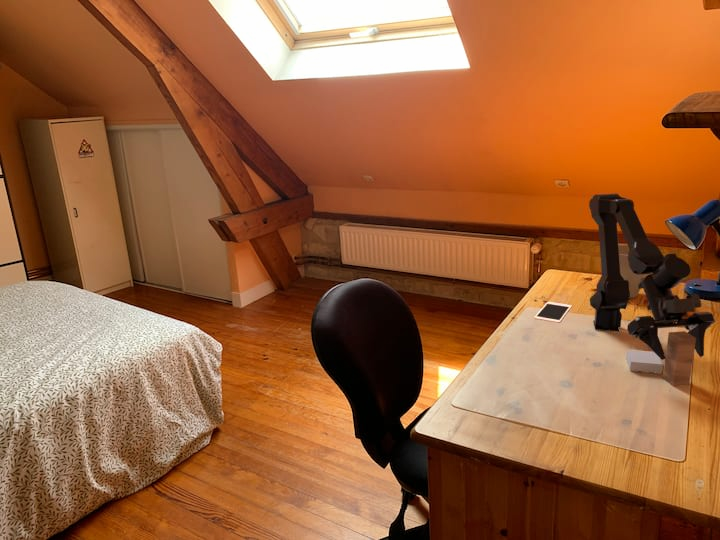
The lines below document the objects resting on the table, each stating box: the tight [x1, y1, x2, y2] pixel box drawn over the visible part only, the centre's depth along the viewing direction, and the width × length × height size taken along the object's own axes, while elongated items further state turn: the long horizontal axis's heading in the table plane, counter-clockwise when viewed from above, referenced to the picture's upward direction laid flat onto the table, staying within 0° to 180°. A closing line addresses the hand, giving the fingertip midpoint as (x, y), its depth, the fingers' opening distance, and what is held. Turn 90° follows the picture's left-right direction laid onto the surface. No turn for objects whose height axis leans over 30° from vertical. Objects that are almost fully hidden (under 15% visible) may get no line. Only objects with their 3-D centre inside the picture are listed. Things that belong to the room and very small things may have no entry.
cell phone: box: [533, 301, 573, 324], centre depth 176 cm, size 8×16×1 cm, turn 147°
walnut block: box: [662, 330, 696, 387], centre depth 130 cm, size 4×4×12 cm
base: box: [625, 349, 663, 374], centre depth 139 cm, size 7×7×2 cm
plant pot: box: [618, 243, 648, 299], centre depth 185 cm, size 15×15×16 cm
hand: (682, 357), depth 128 cm, fingers open, 9 cm apart
